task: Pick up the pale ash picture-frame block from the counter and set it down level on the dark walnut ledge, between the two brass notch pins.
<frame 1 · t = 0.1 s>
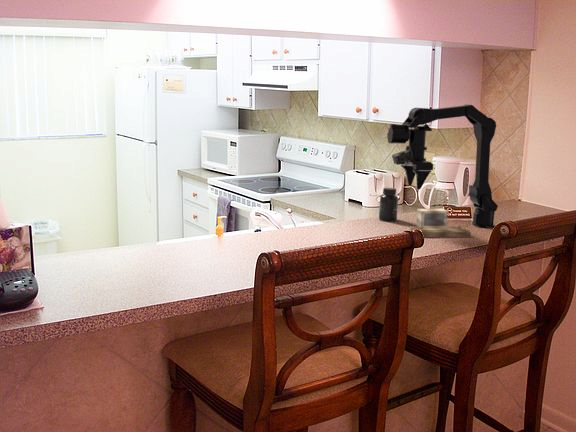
hand: (414, 187, 243), 14 cm above the countertop, fingers open, 9 cm apart
supplement bottle: (387, 220, 257), on the countertop
notched ledge: (439, 233, 236), on the countertop
ash frame block: (431, 226, 248), on the countertop
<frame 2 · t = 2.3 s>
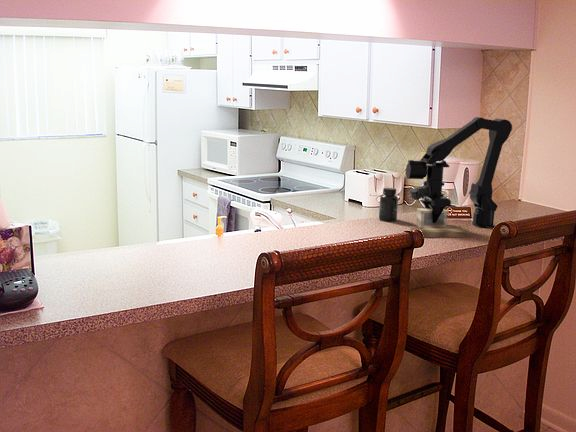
hand: (431, 221, 248), 2 cm above the countertop, fingers closed on ash frame block, 5 cm apart
ash frame block: (431, 225, 249), on the countertop, touching gripper
everything else where it was.
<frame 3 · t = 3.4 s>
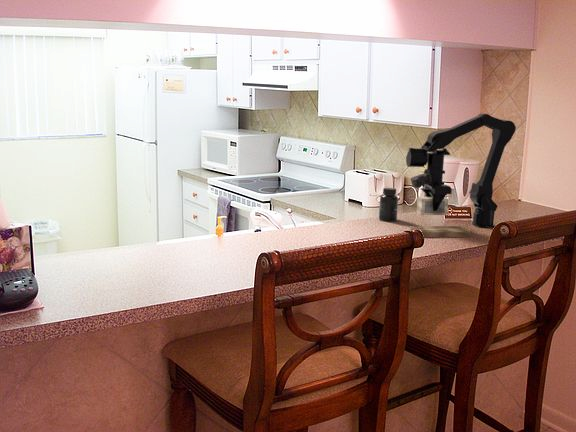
hand: (432, 209, 247), 6 cm above the countertop, fingers closed on ash frame block, 5 cm apart
ash frame block: (431, 213, 248), point 4 cm above the countertop, touching gripper
everything else where it was.
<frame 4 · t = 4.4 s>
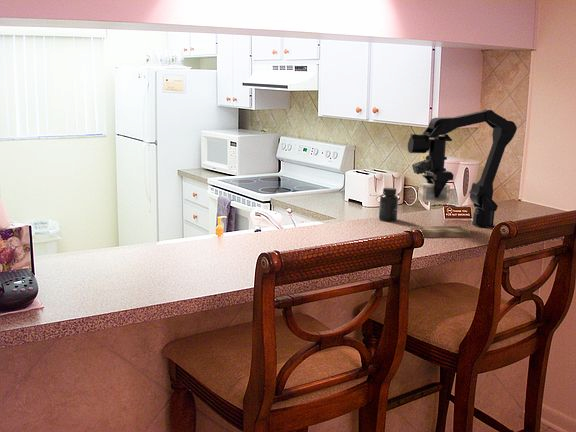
hand: (433, 196, 245), 11 cm above the countertop, fingers closed on ash frame block, 5 cm apart
ash frame block: (433, 200, 246), point 9 cm above the countertop, touching gripper
everything else where it was.
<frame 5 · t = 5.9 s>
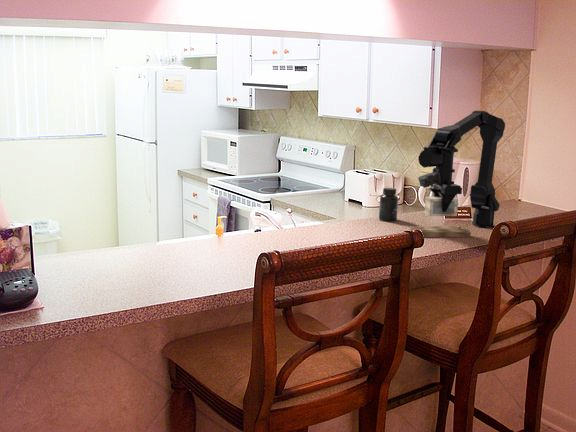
hand: (441, 210, 234), 8 cm above the countertop, fingers closed on ash frame block, 5 cm apart
ash frame block: (440, 214, 235), point 7 cm above the countertop, touching gripper
everything else where it was.
when the fingers open (4 cm above the countertop, at t = 6.9 s): ash frame block stays where it is, resting on notched ledge.
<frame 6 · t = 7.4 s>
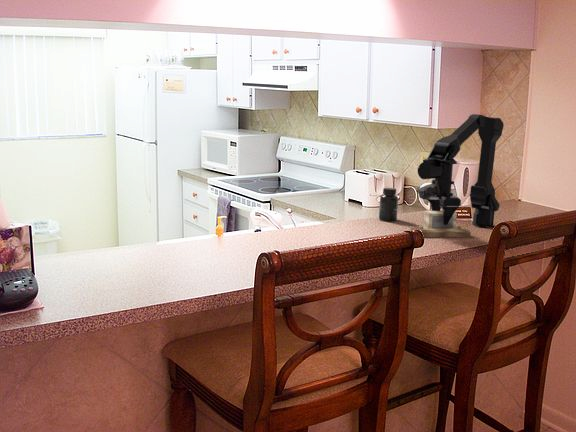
hand: (440, 222, 235), 4 cm above the countertop, fingers open, 9 cm apart
ash frame block: (439, 228, 236), point 1 cm above the countertop, touching notched ledge
everything else where it was.
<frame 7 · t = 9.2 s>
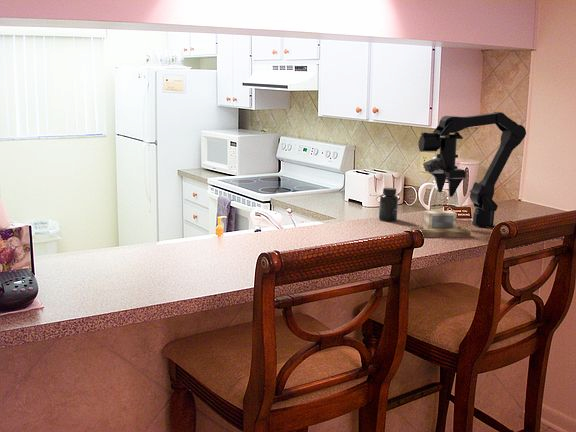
hand: (445, 194, 246), 12 cm above the countertop, fingers open, 9 cm apart
nothing on the countertop moved.
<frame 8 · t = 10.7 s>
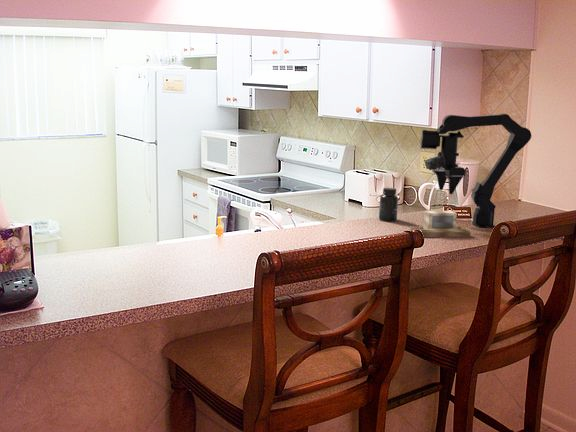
hand: (445, 191, 250), 12 cm above the countertop, fingers open, 9 cm apart
nothing on the countertop moved.
at the end: ash frame block 0.3 cm off-centre on the notched ledge, point 1.5 cm above the notched ledge's base; ash frame block tilted 0°; the gripper is holding nothing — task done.
